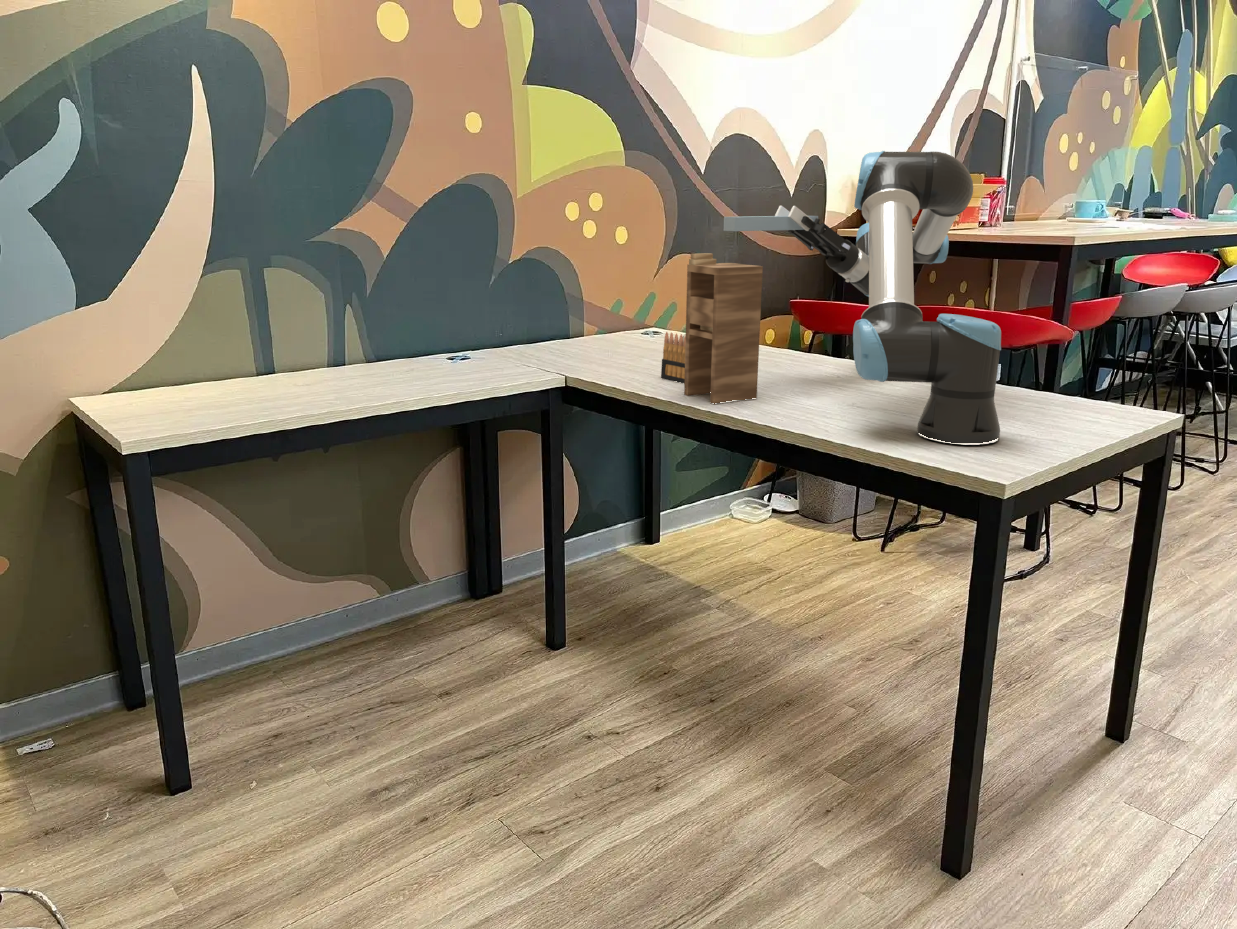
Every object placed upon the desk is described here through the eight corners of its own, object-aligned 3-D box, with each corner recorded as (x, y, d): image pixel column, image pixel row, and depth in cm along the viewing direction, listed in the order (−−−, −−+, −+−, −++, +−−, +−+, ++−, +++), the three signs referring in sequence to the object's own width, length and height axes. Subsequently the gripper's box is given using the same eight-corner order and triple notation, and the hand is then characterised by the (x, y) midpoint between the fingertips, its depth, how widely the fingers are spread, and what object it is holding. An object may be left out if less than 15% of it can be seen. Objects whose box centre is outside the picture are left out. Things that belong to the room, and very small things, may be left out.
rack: (756, 398, 215) (763, 255, 205) (714, 404, 209) (719, 256, 200) (725, 389, 225) (730, 252, 215) (684, 394, 219) (687, 253, 210)
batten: (817, 229, 217) (818, 215, 216) (734, 231, 205) (734, 217, 204) (806, 228, 220) (806, 215, 219) (723, 230, 208) (724, 216, 208)
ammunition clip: (695, 384, 231) (696, 335, 228) (689, 384, 230) (690, 336, 227) (666, 377, 239) (667, 330, 236) (660, 378, 238) (661, 331, 235)
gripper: (865, 276, 219) (802, 226, 206) (816, 271, 233) (754, 224, 220) (879, 248, 219) (817, 196, 206) (829, 244, 233) (768, 195, 220)
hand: (785, 211), depth 213 cm, fingers closed on batten, 4 cm apart
